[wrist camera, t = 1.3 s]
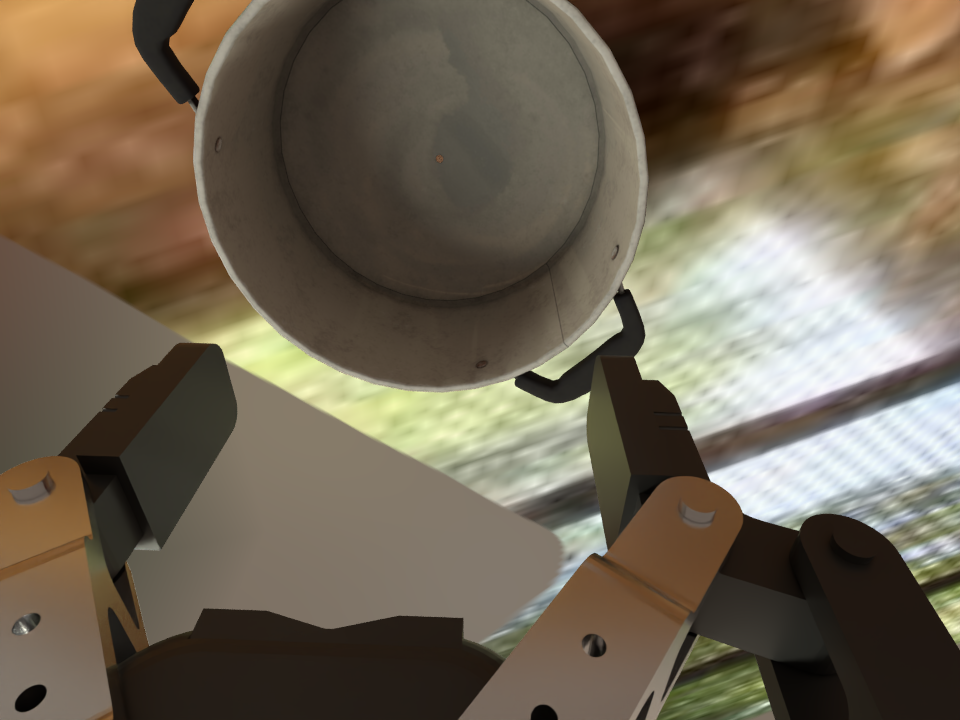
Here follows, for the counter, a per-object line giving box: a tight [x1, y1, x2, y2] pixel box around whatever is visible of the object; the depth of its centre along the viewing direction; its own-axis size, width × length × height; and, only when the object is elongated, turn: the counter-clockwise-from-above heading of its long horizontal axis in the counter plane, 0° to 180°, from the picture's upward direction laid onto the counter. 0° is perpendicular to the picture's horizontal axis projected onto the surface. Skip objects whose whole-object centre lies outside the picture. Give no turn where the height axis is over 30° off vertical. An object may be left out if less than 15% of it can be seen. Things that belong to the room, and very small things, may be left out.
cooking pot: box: [132, 0, 649, 403], centre depth 33 cm, size 30×22×11 cm
